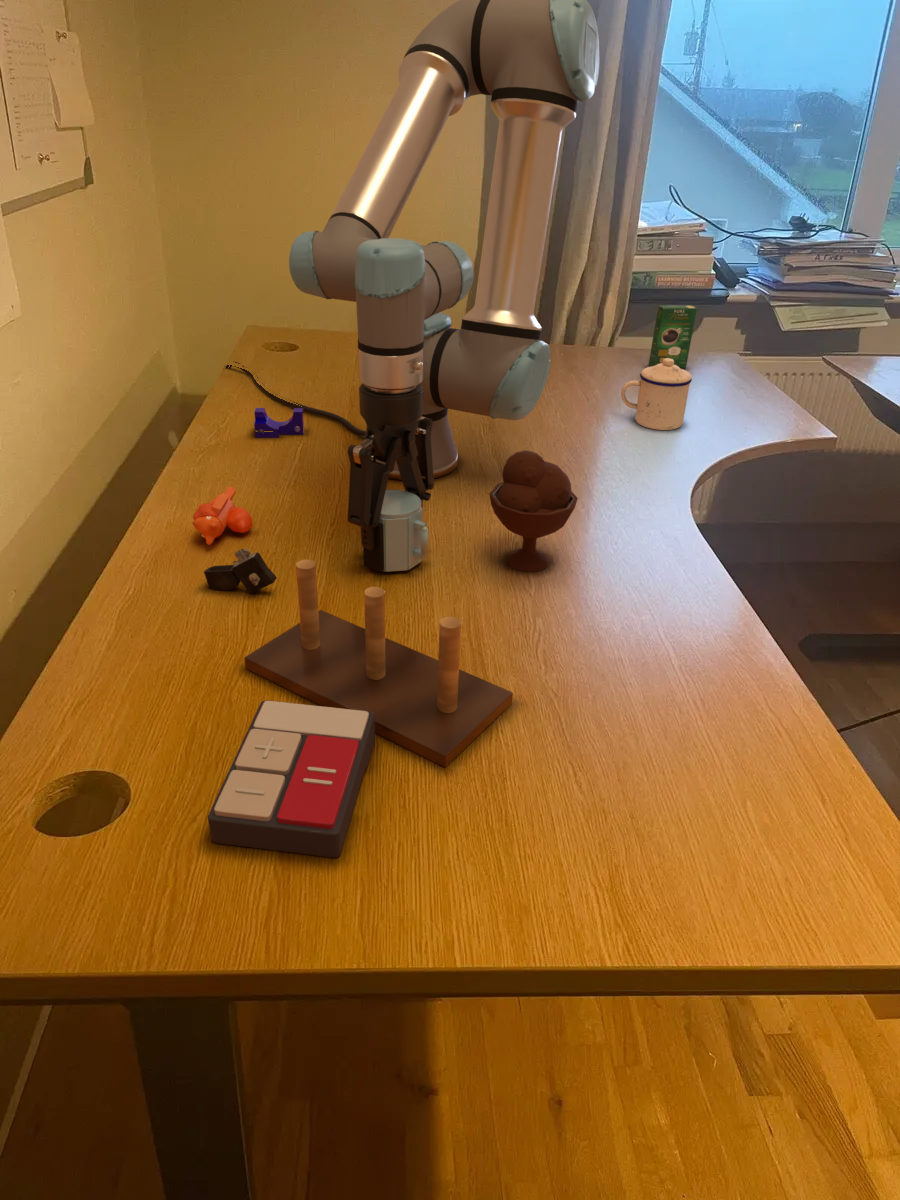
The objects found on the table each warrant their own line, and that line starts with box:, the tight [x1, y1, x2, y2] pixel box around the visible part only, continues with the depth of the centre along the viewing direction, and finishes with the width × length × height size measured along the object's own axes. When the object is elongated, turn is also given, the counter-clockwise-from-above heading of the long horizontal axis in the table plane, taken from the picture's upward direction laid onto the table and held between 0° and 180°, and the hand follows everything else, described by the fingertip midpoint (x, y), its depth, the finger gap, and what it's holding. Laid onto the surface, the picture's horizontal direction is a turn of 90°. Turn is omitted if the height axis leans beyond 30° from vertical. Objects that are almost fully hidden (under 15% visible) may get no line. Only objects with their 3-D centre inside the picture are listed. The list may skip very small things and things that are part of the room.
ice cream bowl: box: [488, 450, 579, 573], centre depth 113 cm, size 11×11×15 cm
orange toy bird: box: [192, 486, 253, 546], centre depth 120 cm, size 5×8×12 cm
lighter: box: [203, 548, 278, 595], centre depth 107 cm, size 8×2×5 cm
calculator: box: [207, 700, 376, 859], centre depth 79 cm, size 11×4×15 cm
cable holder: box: [253, 407, 305, 439], centre depth 152 cm, size 8×4×4 cm, turn 94°
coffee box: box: [648, 304, 698, 369], centre depth 189 cm, size 8×3×13 cm, turn 103°
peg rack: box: [244, 559, 514, 768], centre depth 90 cm, size 26×12×12 cm, turn 55°
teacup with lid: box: [620, 358, 693, 431], centre depth 160 cm, size 12×9×12 cm
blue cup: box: [370, 489, 429, 573], centre depth 113 cm, size 9×7×8 cm
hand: (393, 555), depth 115 cm, fingers closed on blue cup, 7 cm apart
